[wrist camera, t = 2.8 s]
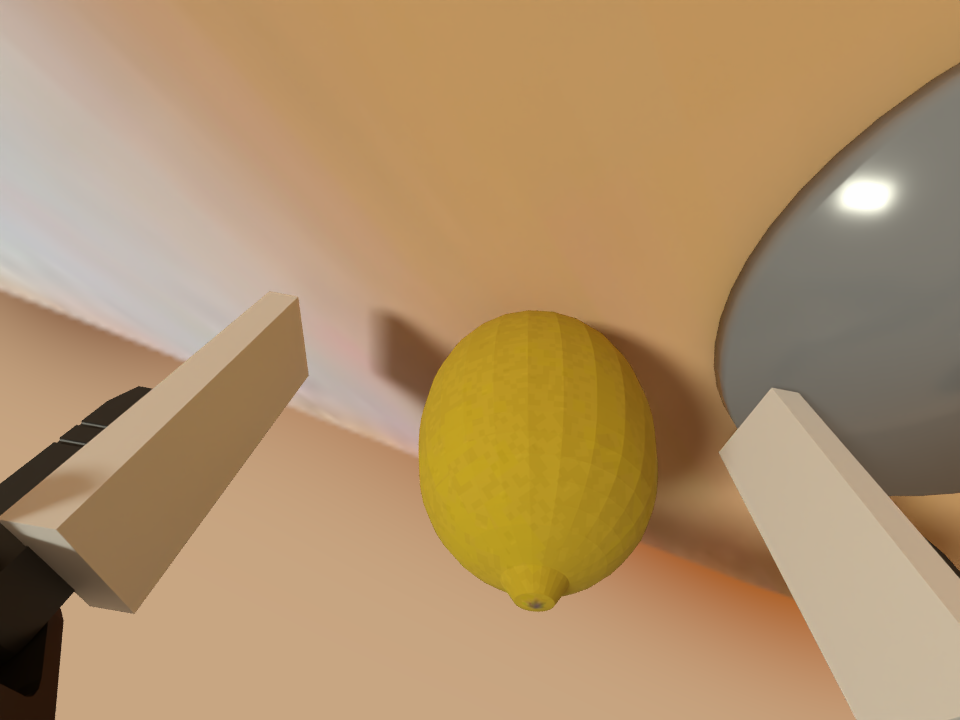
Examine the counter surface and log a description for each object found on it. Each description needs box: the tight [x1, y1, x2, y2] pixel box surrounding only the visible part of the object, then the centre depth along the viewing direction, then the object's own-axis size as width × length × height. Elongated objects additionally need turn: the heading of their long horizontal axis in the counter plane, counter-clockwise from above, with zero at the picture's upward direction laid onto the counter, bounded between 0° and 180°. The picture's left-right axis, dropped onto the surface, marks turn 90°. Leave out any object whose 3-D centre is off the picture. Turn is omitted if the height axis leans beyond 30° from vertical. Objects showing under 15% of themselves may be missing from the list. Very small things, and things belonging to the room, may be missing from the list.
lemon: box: [419, 310, 658, 611], centre depth 10 cm, size 6×6×8 cm
